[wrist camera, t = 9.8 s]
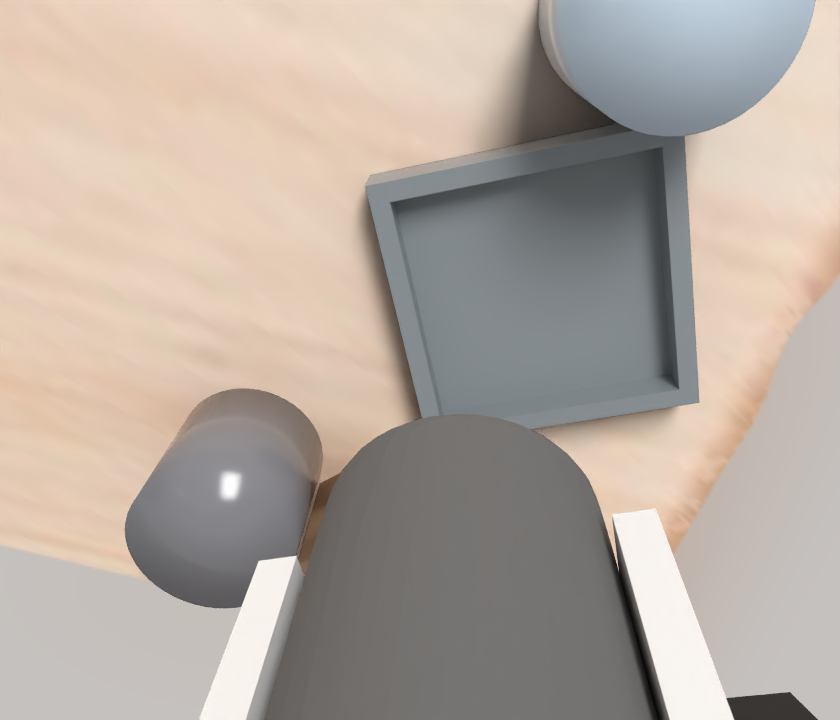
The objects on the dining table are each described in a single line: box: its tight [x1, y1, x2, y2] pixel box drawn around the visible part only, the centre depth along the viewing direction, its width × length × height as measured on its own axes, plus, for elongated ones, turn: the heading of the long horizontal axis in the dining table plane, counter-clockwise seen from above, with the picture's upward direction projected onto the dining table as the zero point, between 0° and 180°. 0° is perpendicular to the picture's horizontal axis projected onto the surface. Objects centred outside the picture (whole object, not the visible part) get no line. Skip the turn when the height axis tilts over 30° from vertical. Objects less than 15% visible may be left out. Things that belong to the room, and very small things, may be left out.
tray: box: [365, 123, 699, 429], centre depth 31 cm, size 12×12×2 cm
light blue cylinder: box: [538, 0, 816, 136], centre depth 24 cm, size 7×7×7 cm
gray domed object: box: [125, 389, 323, 608], centre depth 33 cm, size 7×7×7 cm
